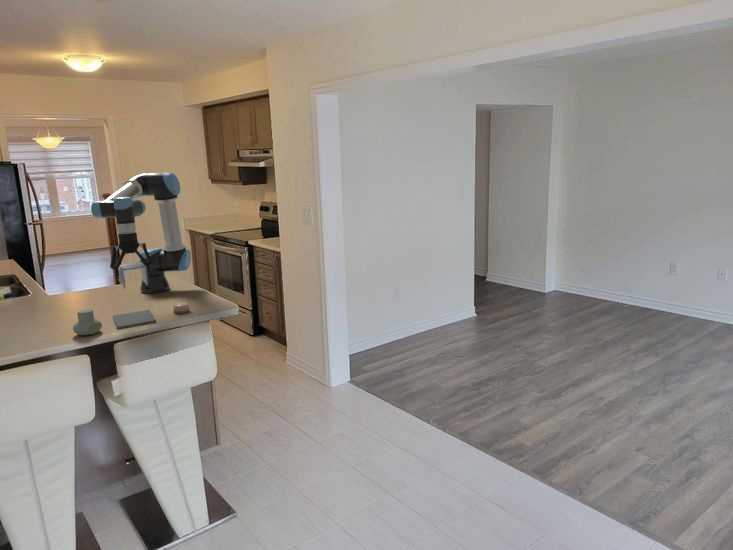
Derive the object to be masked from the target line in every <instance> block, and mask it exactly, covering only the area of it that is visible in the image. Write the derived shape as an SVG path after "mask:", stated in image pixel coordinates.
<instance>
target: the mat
mask: <svg viewBox="0 0 733 550" xmlns="http://www.w3.org/2000/svg"><path fill="white" fill-rule="evenodd" d="M112 318H114V319H113V321H114V324H115V327H116V329H117V330H120V329H126V328H132V327H136V326H143V325H147V324H148V325H149V324H153V323H157V319H156V318H155V316H154V315H153V313H152V311H151V310H150V309H144V310H139V311H132V312H126V313H121V314H114V315H112Z"/></svg>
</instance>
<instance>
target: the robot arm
mask: <svg viewBox="0 0 733 550" xmlns="http://www.w3.org/2000/svg"><path fill="white" fill-rule="evenodd" d="M179 194H181V185H180V181H179V178H178V177H177V175H176V174H175V173H173V172H166V171H165V172H162V171H161V172H147V173H141V174H138V175H135V176H133V177H131V178H129V179H128V180H126V181H125V182H124V183H123V186H122V187H120V188H119V189H118V190H116V191H115V192H113V193H112V194H110V195H109V196H108V197H106V198H105V199H103V200H96V201H93V202H92V203H91V206H90V211H91V214H92V216H93V217H94V218H97V219H99V218H101V219H105V218H115V220H116V221H115V222H116V223H115V224H116V228H117V233H118V234H117V236H118V245H112V246H111V250H112V253H111V259H110V264H109V265H110V266H109V267H110V269H111V270H114V272H115V276H116V277H117V278H118V280H119V284H120V285H122V278H121V271H120V268H119V266H120V265H122V261H123V259H124V257H125V256H126V255H129V254H136V256H137V257H139V262H142V263H143V264H144V265H145V266H146V271H147V278H148V285H146V284H145V282H144V281H143V278H142V277H141V278H142V279H141V283H140V293H142V294H158V293H162V292H163V291H164V292H167V291H168V290H170V289H171V285H170V283H169V281H168V279H167V277H166V275H165V272H167V273H168V272H184V271H185V272H186V271H187V270H188V269H189V268H190V265H191V261H192V254H191V251H190V250H189V249H187V247H186V244H184V243H183V241H182V234H181V228H180V224H179V223H180V222H179V216H178V210H177V204H176V200H177V199H178V197H179V196H178V195H179ZM144 196H145V197H147V196H149V197H152V196H153V199H154V201H155V202H156V203H158V211H159V215H160V220H161V226H162V233H163V238H164V247H163V248H162V247H154V248H149V249H147V244H146V243H145V242H142V243H139V241H138V233H137V232H136V231H137V228H136V227H137V226H136V220H135V217H140V216H142V215H143V214H144V213H145V212H146V210H147V208H146V207H147V205H146V204H145V202H144V201H142V200H141V199H139V198H140V197H144ZM139 248H141V249H142V251H141V252H139V251H138V249H139ZM119 249H120V250H121V253H120V255H119V257H118V259H117V261H116V256H117V252H118V250H119ZM162 249H163V250H162ZM115 262H116V264H115ZM166 290H167V291H166ZM164 292H163V293H164Z"/></svg>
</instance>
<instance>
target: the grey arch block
mask: <svg viewBox="0 0 733 550" xmlns="http://www.w3.org/2000/svg"><path fill="white" fill-rule="evenodd" d="M119 268H120V271H121V278H122V284H121V286H122V288H123V289H124V290H125V289H126V281H125V277H124V275H125V274H124V271H131V270H139V269H140V270H141V278H143V281H144V282H145V284H146V285H148V278H147V271H146V266H145V265H144V264H143V263H142V262H140V261H139V262H131V263H124V264H122V263H121V264H120V266H119ZM119 268H118V269H119Z"/></svg>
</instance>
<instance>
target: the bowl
mask: <svg viewBox="0 0 733 550" xmlns="http://www.w3.org/2000/svg"><path fill="white" fill-rule="evenodd" d="M172 307H173V312H174V313H175V314H185V313H188V311H190V304H189V303H188V302H178V303H175V304H174V305H172Z"/></svg>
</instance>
